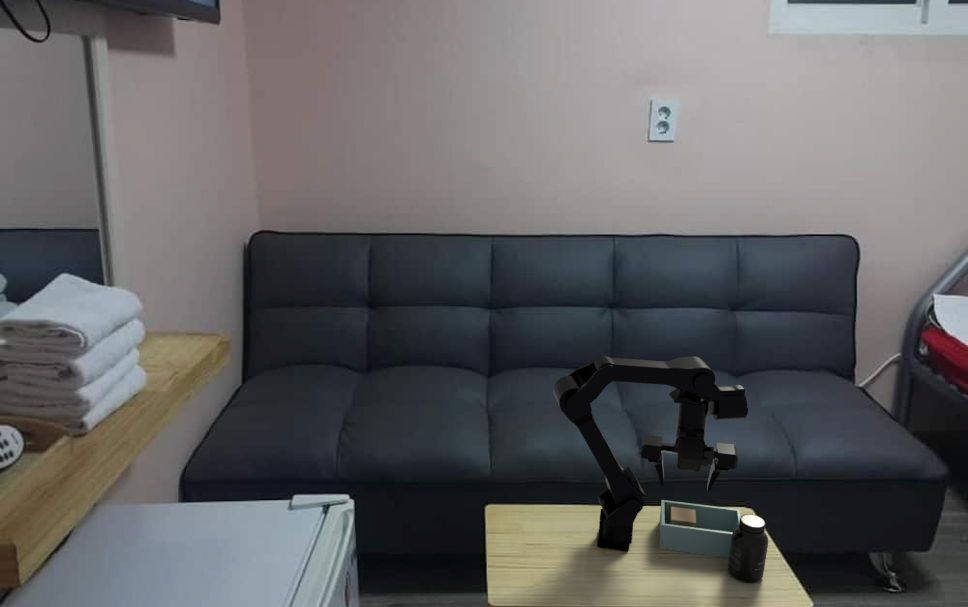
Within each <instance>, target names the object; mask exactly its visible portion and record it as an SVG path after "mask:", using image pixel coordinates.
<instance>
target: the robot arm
mask: <svg viewBox="0 0 968 607" xmlns="http://www.w3.org/2000/svg"><path fill="white" fill-rule="evenodd" d="M612 382H617V383H628V384H629V383H633V384H647V385H660V386H661V385H662V386H663V385H664V386H669V387H672V388H674V390H672V391H671V392H669V393H668V396H669V397H670V398H671V400H672V402H674V403H675V404H678V406H677V407H678V409H677V418H676V419H677V420H676V428H675V429H676V430H675V438H674V440H675V441H674V443H666V442H665V443H664V442H663V436H662V435H661V436H660V435H654V434H653V435H652V434H645V435H644V436H643V437H642V442H641V443H642V444H641V456H640V457H641V458H642V459H645V460H647V462H648V463H651V464H652V465H653V466H654V467H655V469H656V472H657V475H658V478H659V483H660V486H661V487H664V484H665V474H664V472H665V470H664V454H672V455H676V467H677V469H679V470H682V471H685V470H688V471H693V472H700V471H702V470H703V467H708V466H709V465H710V469H709V474H708V479H707V486H706V493H710V491H711V490H712V489H713V486H714V485H715V482H716V481H717V479H718V478H719V476H720V475H721V473H723V472H729V471H731V470H737V469H738V462H739V461H738V460H739V459H738V448H737V446H736V445H735V444H733V443H722V442H716V444H715V448H714V446H708V445H707V444H706V441H705V439H706V431H707V421H708V415H710V416H712V417H713V419H714V420H716V421H729V420H731V421H732V420H745V419H747V417H748V413H749V406H748V400H747V397H746V389H745V388H744V387H743V386H742V385H740V384H738V385H731V386H718V385H717V384H716V383H715V382H716V375H715V373H714V371H713V370H712V368H710V366H708V365H707V363H706V362H705V361H704V360H703V359H702V358H700V357H699V356H681V357H676V358H673V359H670V360H666V361H662V360H660V361H659V360H647V359H635V358H634V359H633V358H621V357H620V358H619V357H609V356H607V355H602V356H599V357H596V358H595V359H594V360H593V361H591V362H590V363H588V364H585V365H583V366H580V367H578V368H576V369H575V370H573V371H572V372H571V373H568V375H566V376H562V377H560V378H559V379H558V380H556V381H555V383H554V385H553V388H552V392H553V395H554V398H555V399H556V401H557V404H558V407H559V409H560V411H561V412H562V413H563V415H564V416H565V417H566V418H567V419H568V421H570V422H571V423H572V424H573V425H574V426H575V427H576V428H577V429H578V430H579V432H580V434H581V436H582V437H583V439H584V441H585V442H586V445H587V447H588V448H589V450H590V452H591V454H592V455H593V457H594V459H595V461H596V463H597V464H598V466H599V468H600V470H601V472H602V473H603V475H604V478H605V483H606V486H607V488H605V490H603V491H602V492H601V493H600V494H598V495H597V499H598V500H597V501H598V503H599V505H600V506H601V509H600V511H599V512H600V513H599V522H598V523H599V524H598V534H597V541H596V542H597V543H596V547H597V548H602V549H610V550H617V551H625V552H628V551H630V544H632V543H633V531H634V522H635V521H636V518H637V516H638V515H639V513H641V511H642V510H643V508H644V506H645V504H646V503H645V498H644V497H646V493H645V491H644V489H643V488H642V486H641V484H640V482H639V480H638V479H637V477H636V476H635V473H634V472H633V470H632V468H631V466H629V465H628V466H627V467H626V468H623V467H622V466H621V465H620V463H619V462H618V460H617V459H616V457H615V455H614V452H613V451H612V449H611V447H610V446H609V444H608V442H607V440H606V438H605V436H604V435H603V433H602V431H601V429H600V427H599V426H598V424H597V421H596V420H595V418H594V414H593V409H592V406H591V403H593V402H594V401H596V400H597V399H598V397H599V396H600V395H601V394H602V392H603V391H604V389H606V387H607V386H608V385H610V384H612Z"/></svg>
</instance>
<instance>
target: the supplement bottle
mask: <svg viewBox="0 0 968 607" xmlns="http://www.w3.org/2000/svg"><path fill="white" fill-rule="evenodd" d="M765 531H766V521H765V519H763V518H762V517H761V516H759V515H756V514H755V515H754V514H751V513H750V514H749V513H748V514H747V513H746V514H743V515H742V514H741V517H740V521H739V524H738V527H737V528H735V529H734V531H733V533H732V538H731V545H730V552H729V558H728V559H727V560H728V561H727V571H728V573H729V575H730V576H731V577H732V578H733V579H735V580H737V581H739V582H742V583H746V584H755V583H759V582H760V581H761V580H762V578H763V577H764V573H765V572H764V571H765V566H766V562H767V560H766V559H767V556H768V555H767V554H768V547H769V537H768V536H767V534H766V532H765Z"/></svg>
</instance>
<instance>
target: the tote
mask: <svg viewBox="0 0 968 607" xmlns="http://www.w3.org/2000/svg"><path fill="white" fill-rule="evenodd" d="M660 503H661V504H660V513H659V523H658V524H659V525H658V526H659V527H658V531H659V532H658V533H659V534H658V538H659V539H658V540H659V544H658V546H659V547H658V548H659V549H660V548H662V549H663V550H667V549H668V550H667V551H675V552H676V551H677V552H683V553H684V552H685V553H691V554H699V555H706V556H714V557H720V558H721V557H722V558H726V559H727V558H728V559H729V552H730V545H731V538H732V533H733V531H734V529H735V528H737V527H738V524H739V521H740V517H741V516H742V514H741V509H739V508H738V509H737V508H730V507H722V506H715V505H706V504H698V503H689V502H682V501H673V500H666V499H661V502H660ZM671 507H678V508H686V509H693V510H695V512H696V528H694V527H686V526H679V525H671V524H669V522H670V513H671Z"/></svg>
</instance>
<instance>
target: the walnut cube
mask: <svg viewBox="0 0 968 607" xmlns="http://www.w3.org/2000/svg"><path fill="white" fill-rule="evenodd" d="M669 524H671V525H679V526H686V527H694V528H696V512H695V510H693V509H686V508H678V507H671V513H670V522H669Z"/></svg>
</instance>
